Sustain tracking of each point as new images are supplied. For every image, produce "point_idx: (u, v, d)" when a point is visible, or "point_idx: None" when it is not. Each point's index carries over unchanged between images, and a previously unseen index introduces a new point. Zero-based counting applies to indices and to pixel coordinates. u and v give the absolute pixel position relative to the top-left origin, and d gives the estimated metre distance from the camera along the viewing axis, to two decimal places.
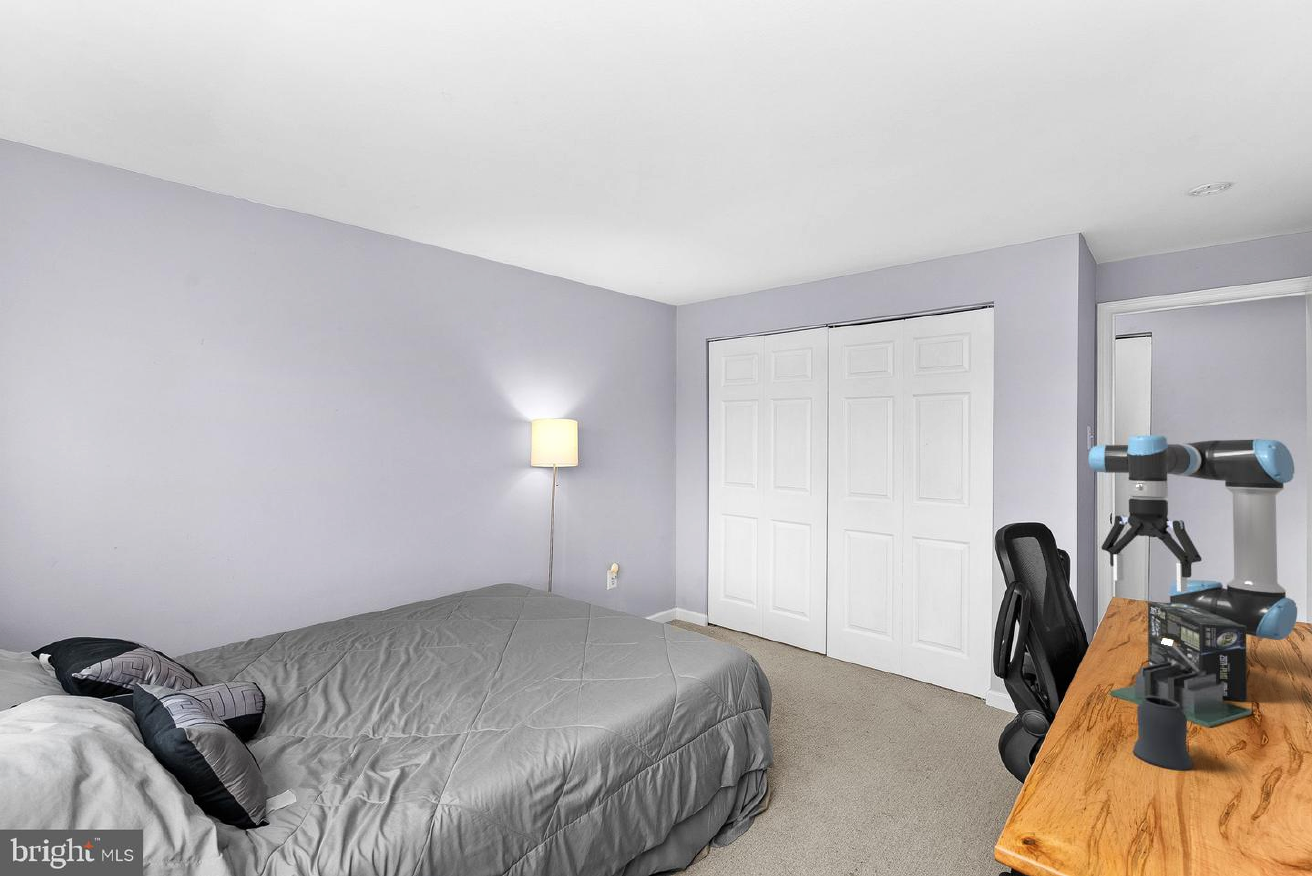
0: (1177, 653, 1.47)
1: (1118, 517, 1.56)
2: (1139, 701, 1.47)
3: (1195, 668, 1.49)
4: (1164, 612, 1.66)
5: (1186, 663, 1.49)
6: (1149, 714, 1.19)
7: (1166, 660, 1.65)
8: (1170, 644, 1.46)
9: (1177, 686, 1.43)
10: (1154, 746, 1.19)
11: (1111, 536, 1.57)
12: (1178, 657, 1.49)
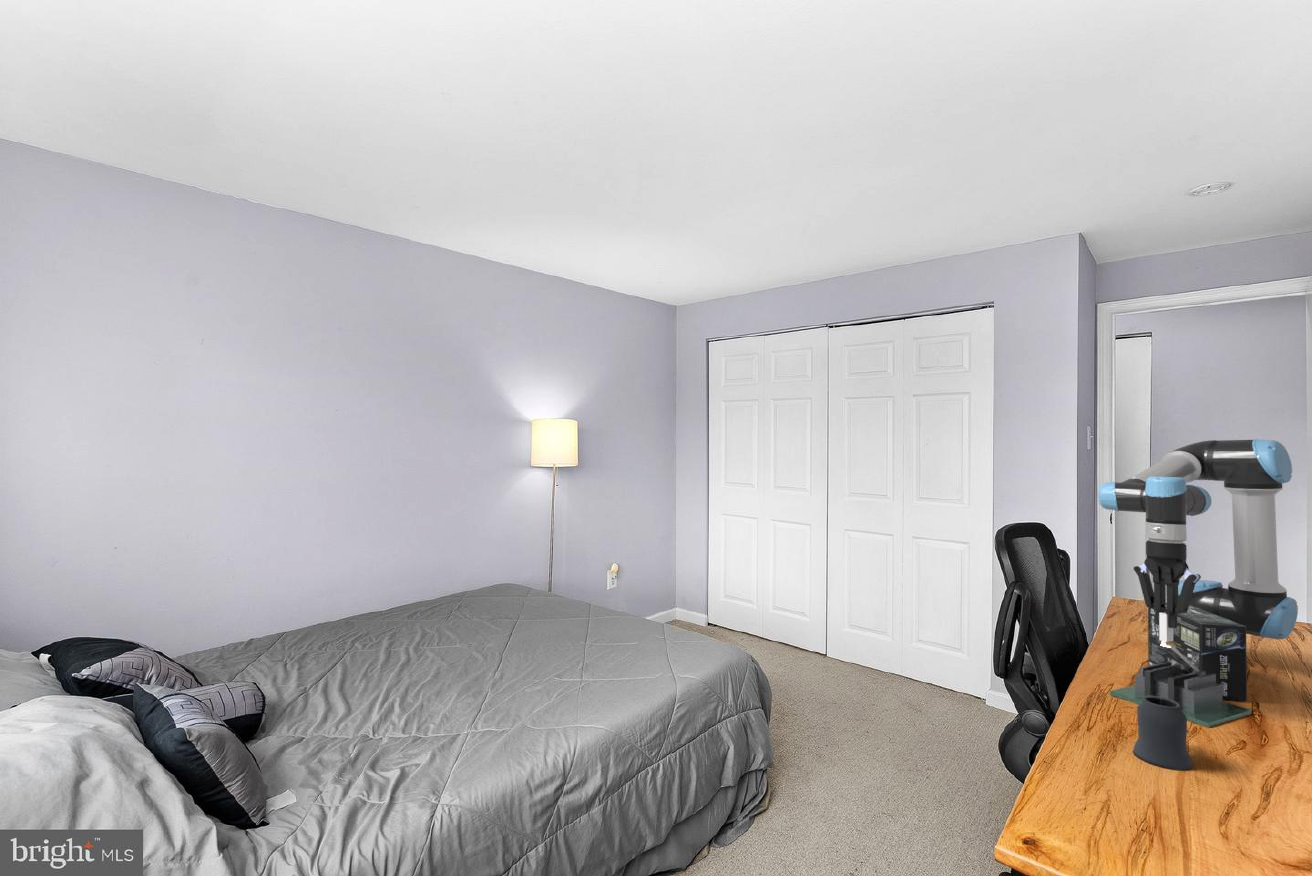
0: (1177, 655, 1.47)
1: (1136, 567, 1.52)
2: (1139, 701, 1.47)
3: (1195, 668, 1.49)
4: None
5: (1186, 664, 1.49)
6: (1149, 714, 1.19)
7: (1166, 660, 1.65)
8: (1169, 646, 1.46)
9: (1177, 686, 1.43)
10: (1154, 746, 1.19)
11: (1145, 589, 1.50)
12: (1178, 658, 1.49)
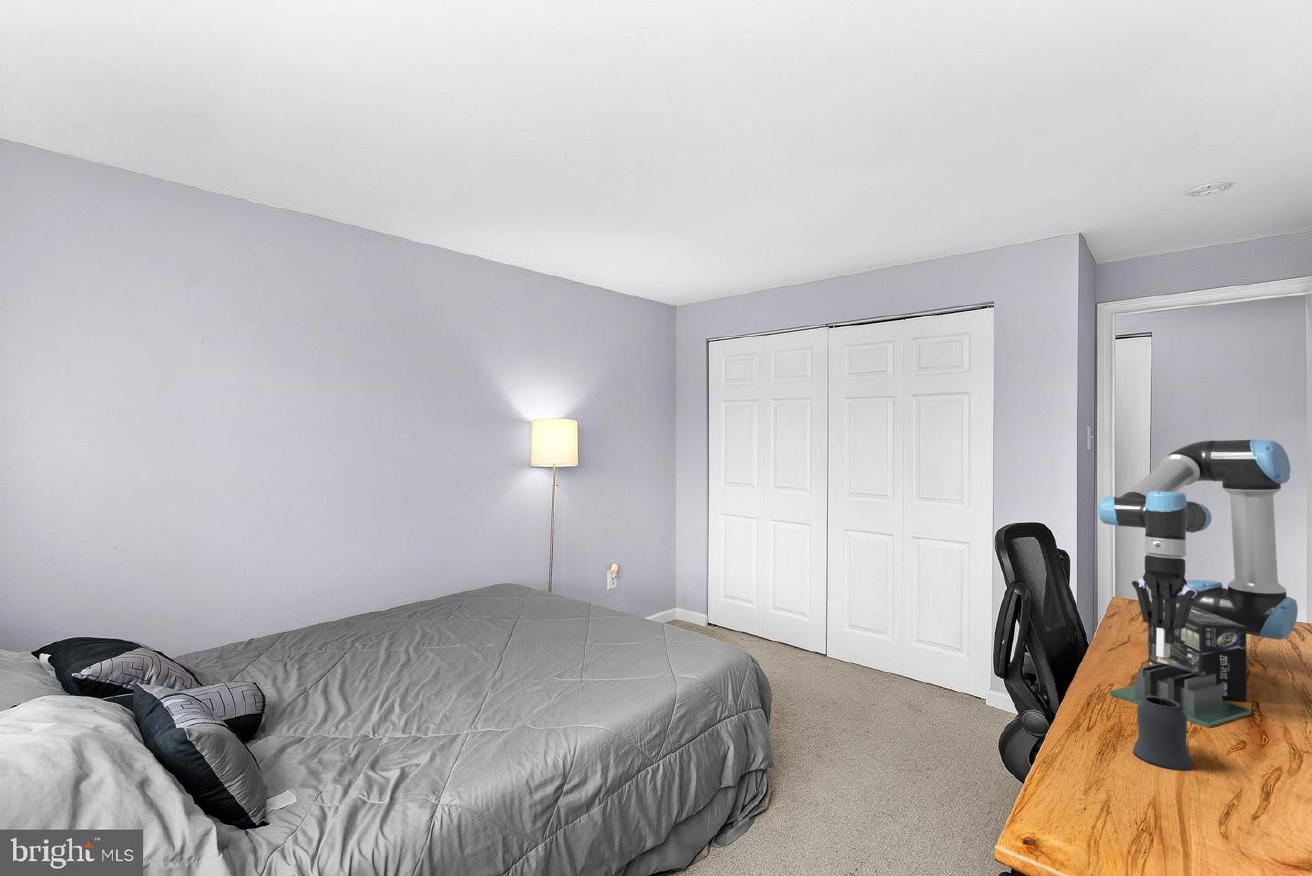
0: (1174, 666, 1.47)
1: (1134, 582, 1.51)
2: (1139, 701, 1.47)
3: (1194, 671, 1.49)
4: None
5: (1185, 670, 1.49)
6: (1149, 714, 1.19)
7: None
8: (1166, 662, 1.45)
9: (1177, 686, 1.43)
10: (1154, 746, 1.19)
11: (1143, 604, 1.49)
12: (1176, 667, 1.48)
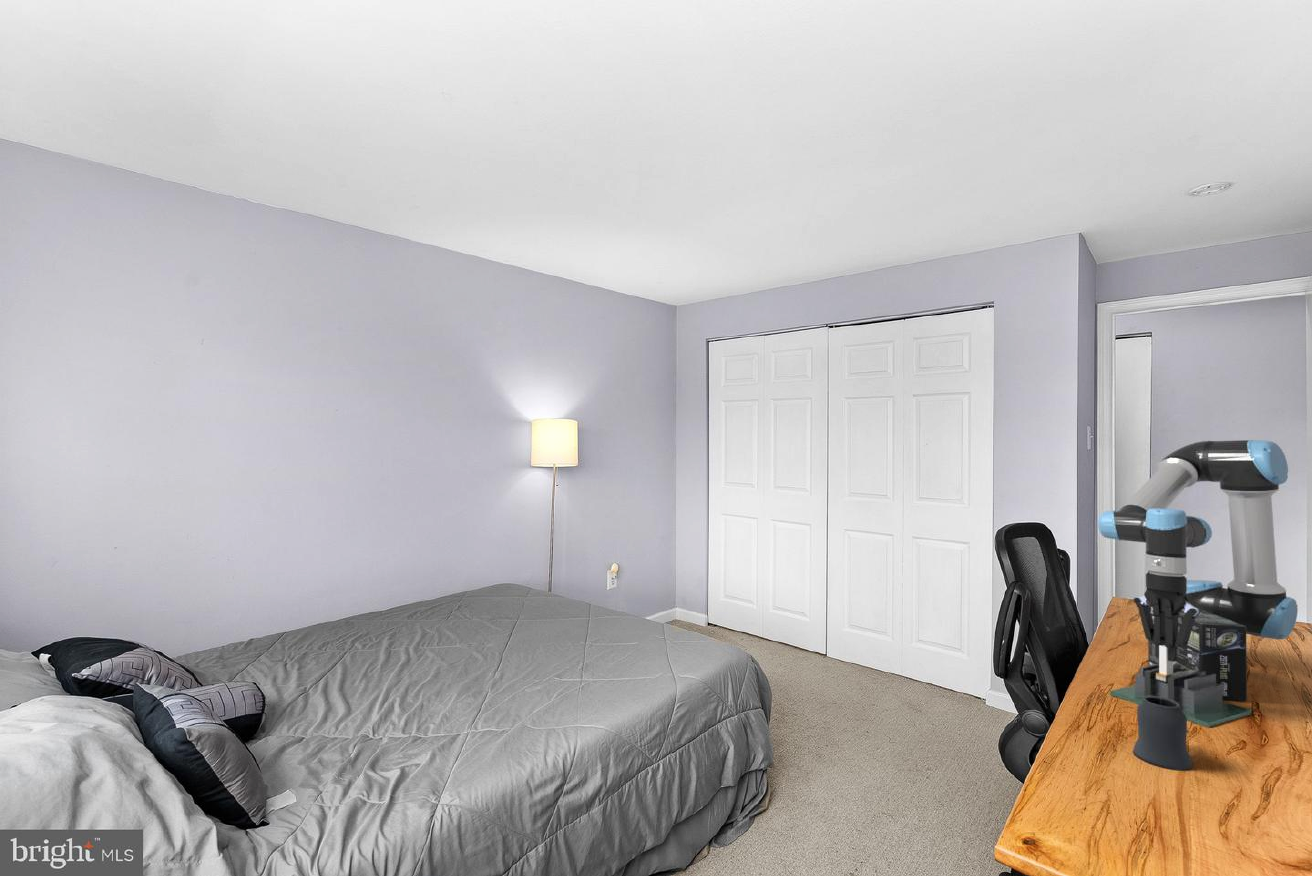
0: None
1: (1136, 599, 1.51)
2: (1139, 701, 1.47)
3: None
4: None
5: None
6: (1149, 714, 1.19)
7: None
8: (1164, 680, 1.44)
9: (1177, 686, 1.43)
10: (1154, 746, 1.19)
11: (1145, 621, 1.49)
12: None
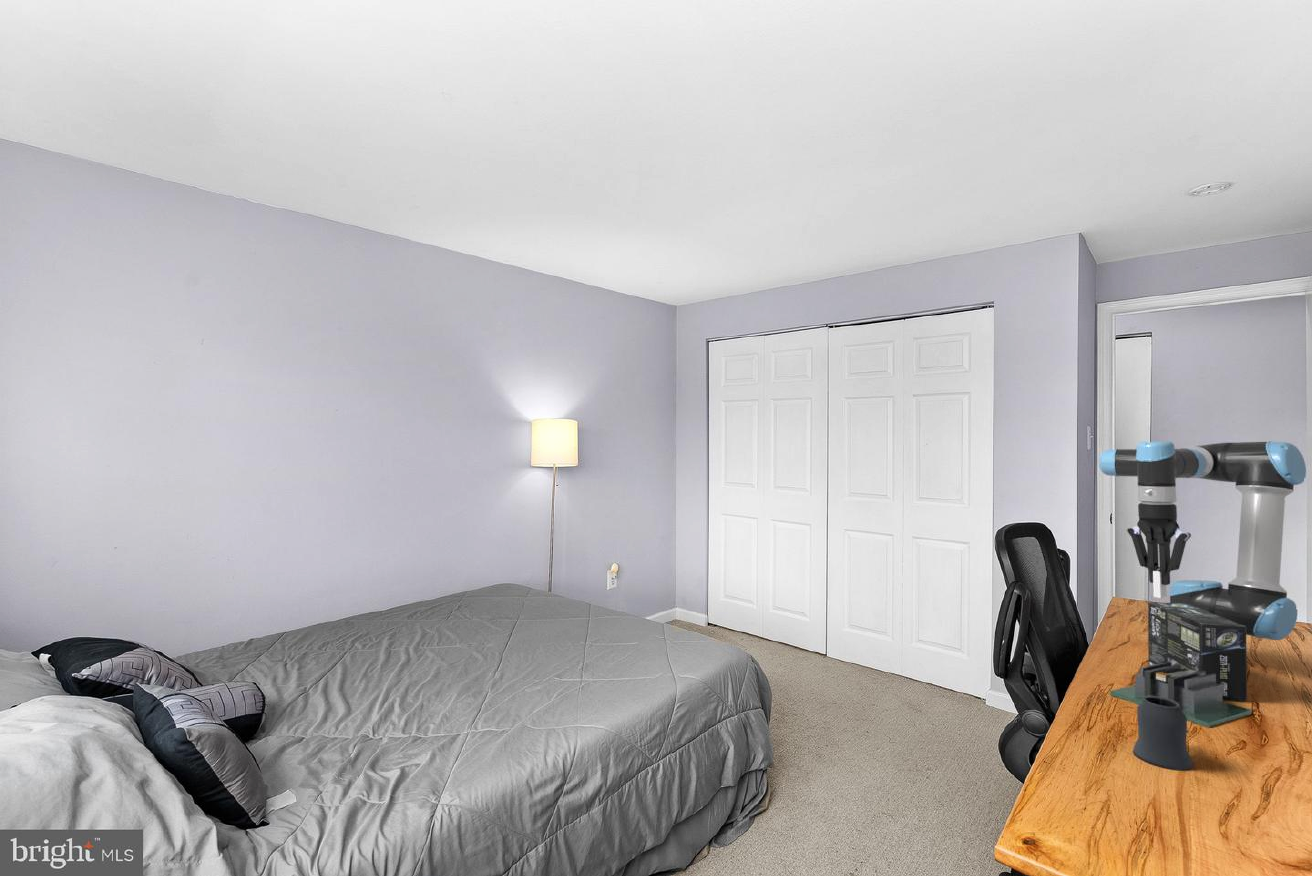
0: None
1: (1129, 529, 1.59)
2: (1139, 701, 1.47)
3: None
4: (1164, 612, 1.66)
5: None
6: (1149, 714, 1.19)
7: (1166, 660, 1.65)
8: (1164, 680, 1.44)
9: (1177, 686, 1.43)
10: (1154, 746, 1.19)
11: (1139, 549, 1.57)
12: None
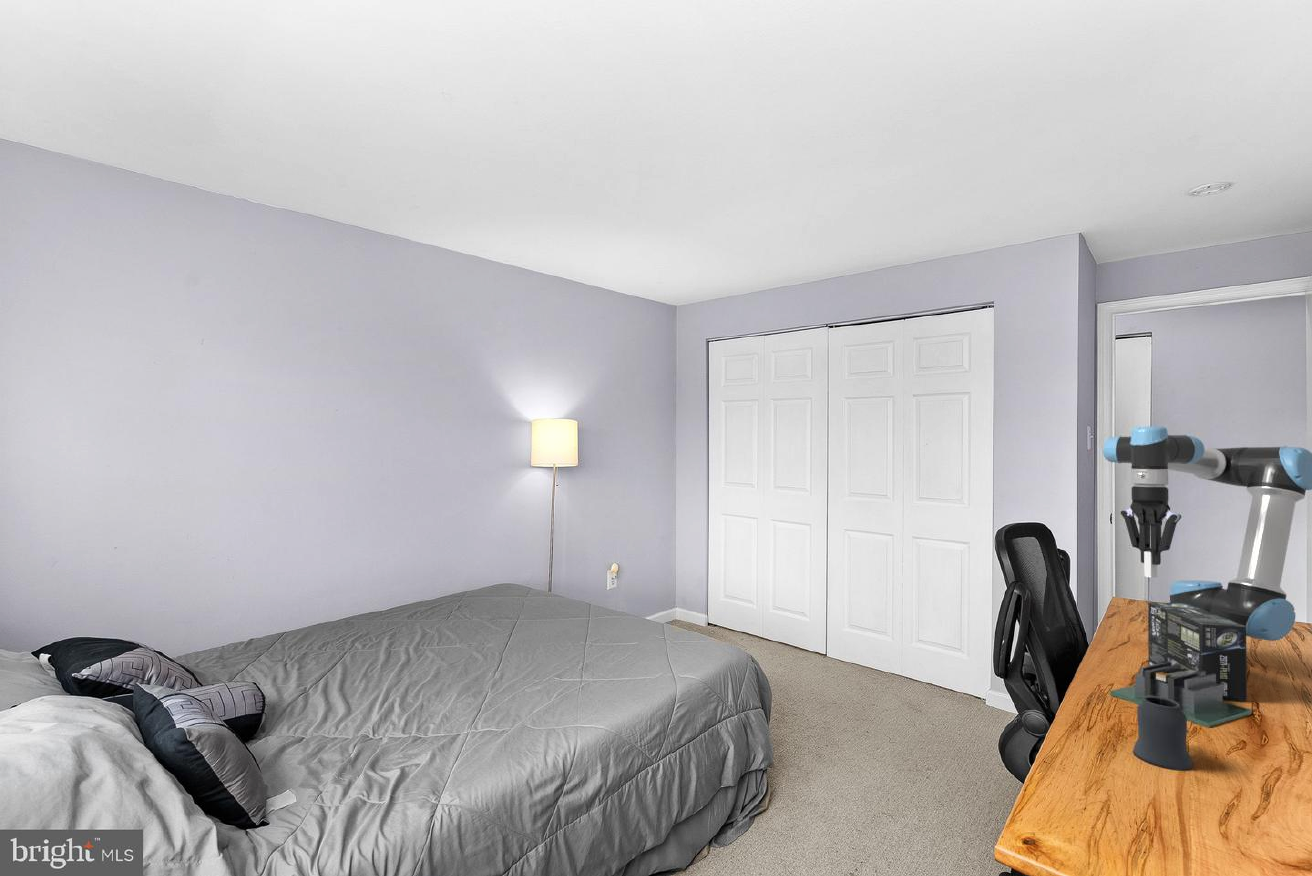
0: None
1: (1123, 511, 1.65)
2: (1139, 701, 1.47)
3: None
4: (1164, 612, 1.66)
5: None
6: (1149, 714, 1.19)
7: (1166, 660, 1.65)
8: (1164, 680, 1.44)
9: (1177, 686, 1.43)
10: (1154, 746, 1.19)
11: (1131, 531, 1.63)
12: None
